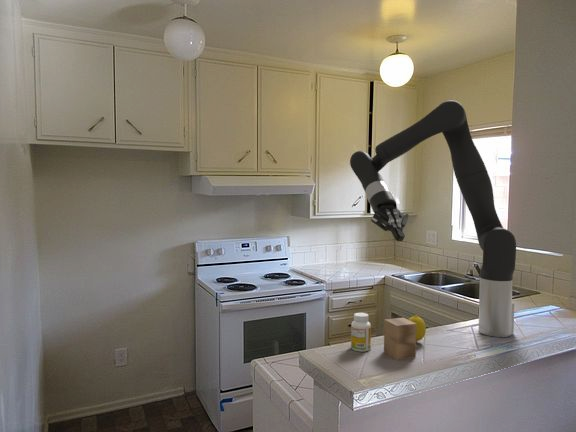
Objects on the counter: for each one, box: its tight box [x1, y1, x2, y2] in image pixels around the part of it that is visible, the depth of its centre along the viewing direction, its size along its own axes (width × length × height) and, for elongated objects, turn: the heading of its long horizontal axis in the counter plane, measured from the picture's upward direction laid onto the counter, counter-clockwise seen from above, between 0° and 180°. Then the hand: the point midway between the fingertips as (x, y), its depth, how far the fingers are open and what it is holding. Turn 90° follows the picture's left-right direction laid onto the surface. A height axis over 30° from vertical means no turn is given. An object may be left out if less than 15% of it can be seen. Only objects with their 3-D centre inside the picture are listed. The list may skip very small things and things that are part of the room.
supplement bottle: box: [350, 312, 372, 353], centre depth 119 cm, size 5×5×10 cm
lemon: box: [408, 314, 427, 343], centre depth 125 cm, size 6×6×8 cm
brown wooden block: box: [383, 317, 417, 360], centre depth 115 cm, size 6×6×9 cm
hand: (401, 239), depth 127 cm, fingers closed
